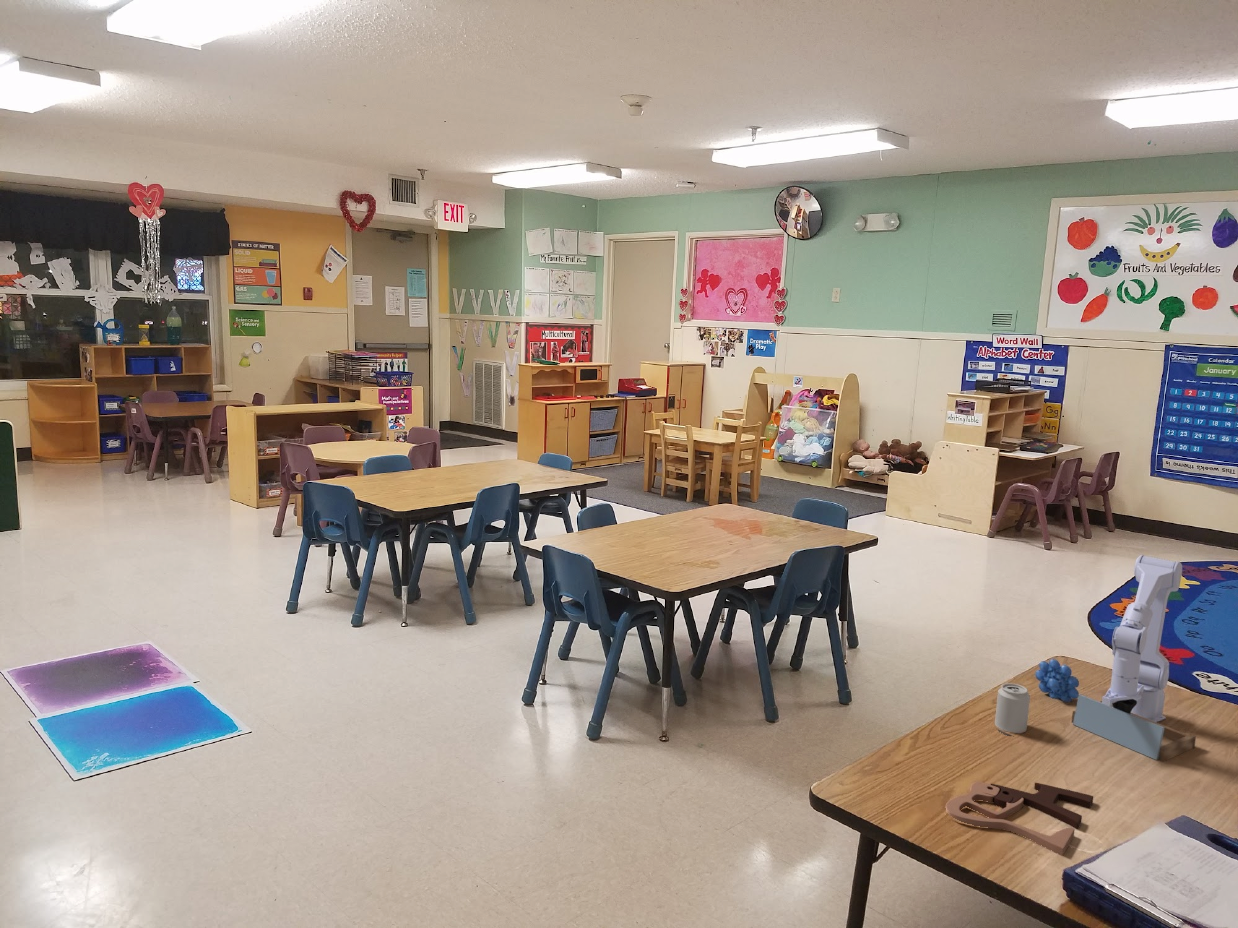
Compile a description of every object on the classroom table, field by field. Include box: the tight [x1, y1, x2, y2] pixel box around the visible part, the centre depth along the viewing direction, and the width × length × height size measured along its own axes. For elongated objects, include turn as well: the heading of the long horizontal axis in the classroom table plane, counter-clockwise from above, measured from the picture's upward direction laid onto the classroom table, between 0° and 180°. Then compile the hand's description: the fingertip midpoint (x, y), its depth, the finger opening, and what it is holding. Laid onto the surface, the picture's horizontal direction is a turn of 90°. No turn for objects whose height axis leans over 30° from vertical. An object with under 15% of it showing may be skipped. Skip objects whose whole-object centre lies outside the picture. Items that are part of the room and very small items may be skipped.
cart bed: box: [1071, 700, 1197, 762], centre depth 227 cm, size 14×23×4 cm, turn 31°
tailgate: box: [1072, 693, 1165, 761], centre depth 223 cm, size 1×21×8 cm, turn 31°
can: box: [994, 682, 1031, 738], centre depth 230 cm, size 8×8×12 cm
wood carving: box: [945, 781, 1094, 856], centre depth 194 cm, size 28×2×24 cm
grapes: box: [1034, 658, 1080, 703], centre depth 247 cm, size 12×7×12 cm, turn 47°
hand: (1119, 725), depth 223 cm, fingers closed, pressing on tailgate
